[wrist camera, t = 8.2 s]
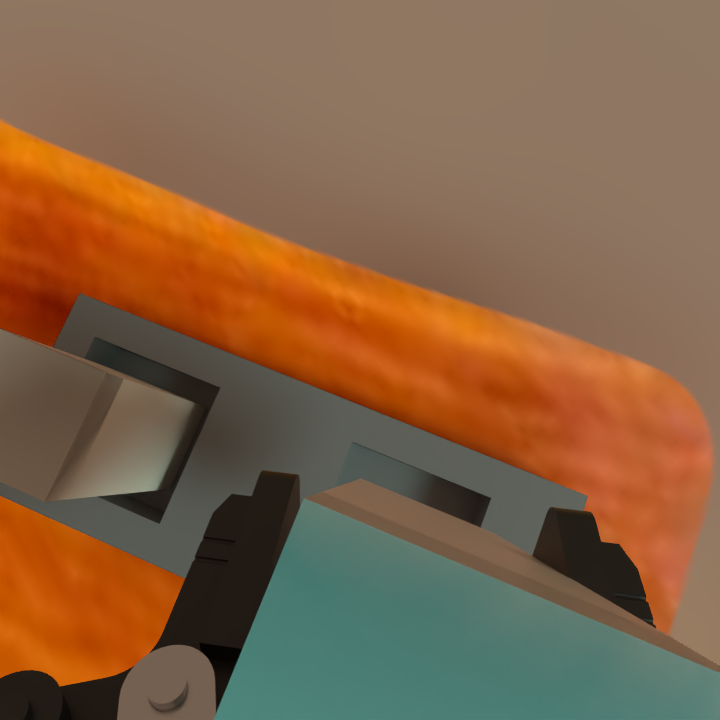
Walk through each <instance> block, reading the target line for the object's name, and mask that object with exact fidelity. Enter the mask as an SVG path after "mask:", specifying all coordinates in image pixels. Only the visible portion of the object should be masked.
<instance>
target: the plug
mask: <svg viewBox="0 0 720 720" xmlns="http://www.w3.org/2000/svg"><path fill="white" fill-rule="evenodd" d="M214 720H720V666H719V665H717V664H716V663H714V662H712V661H710V660H709V659H707V658H705V657H704V656H702V655H700V654H698V653H697V652H695V651H693V650H692V649H690V648H688V647H687V646H685V645H683V644H682V643H680V642H678V641H676V640H675V639H673V638H671V637H670V636H668V635H666V634H665V633H663V632H661V631H659V630H658V629H656V628H654V627H653V626H651V625H649V624H648V623H646V622H644V621H642V620H641V619H639V618H637V617H636V616H634V615H632V614H631V613H629V612H627V611H625V610H624V609H622V608H620V607H619V606H617V605H615V604H614V603H612V602H610V601H609V600H607V599H605V598H603V597H602V596H600V595H598V594H597V593H595V592H593V591H592V590H590V589H588V588H586V587H585V586H583V585H581V584H580V583H578V582H576V581H575V580H573V579H570V578H568V577H567V576H565V575H563V574H562V573H560V572H558V571H557V570H555V569H553V568H552V567H550V566H548V565H546V564H545V563H543V562H541V561H540V560H538V559H536V558H535V557H533V556H532V555H530V554H529V553H527V552H525V551H524V550H522V549H520V548H518V547H517V546H515V545H513V544H512V543H510V542H508V541H507V540H505V539H503V538H501V537H500V536H498V535H496V534H495V533H493V532H490V531H488V530H485V529H483V528H481V527H478V526H476V525H473V524H471V523H468V522H466V521H464V520H461V519H459V518H456V517H454V516H451V515H449V514H446V513H444V512H442V511H439V510H437V509H434V508H432V507H429V506H427V505H425V504H422V503H420V502H417V501H415V500H412V499H410V498H408V497H405V496H403V495H400V494H398V493H395V492H393V491H391V490H388V489H386V488H383V487H381V486H378V485H376V484H374V483H371V482H369V481H366V480H364V479H358V480H355V481H352V482H349V483H346V484H344V485H341V486H338V487H335V488H332V489H329V490H326V491H323V492H320V493H317V494H314V495H312V496H309V497H306V498H304V499H303V502H302V504H301V506H300V509H299V511H298V514H297V516H296V519H295V521H294V524H293V526H292V529H291V531H290V533H289V536H288V538H287V541H286V543H285V546H284V548H283V551H282V553H281V556H280V558H279V560H278V563H277V565H276V568H275V570H274V573H273V575H272V578H271V580H270V583H269V585H268V587H267V590H266V592H265V595H264V597H263V600H262V602H261V605H260V607H259V610H258V612H257V614H256V617H255V619H254V622H253V624H252V627H251V629H250V632H249V634H248V637H247V639H246V641H245V644H244V646H243V649H242V651H241V654H240V656H239V659H238V661H237V663H236V666H235V668H234V671H233V673H232V676H231V678H230V681H229V683H228V686H227V688H226V690H225V693H224V695H223V698H222V700H221V703H220V705H219V708H218V710H217V713H216V715H215V717H214Z"/></svg>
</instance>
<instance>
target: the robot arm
mask: <svg viewBox="0 0 720 720" xmlns="http://www.w3.org/2000/svg"><path fill="white" fill-rule="evenodd" d="M299 509H300V477H299V475H298V474H290V473H282V472H274V471H265V470H262V471H261V473H260V475H259V477H258V480H257V483H256V485H255V488H254V491H253V494H252V496H246V495H238V494H231V495H230V496H229V497H228V498H227V499H226V500H225V501H224V502H223V503H222V504H221V505H220V506H219V507H218V508H217V509H216V510H215V511H214V512H213V514H212V516H211V519H210V521H209V523H208V526H207V528H206V531H205V533H204V535H203V540H202V541H201V543H200V545H199V547H198V550H197V552H196V555H195V559H194V561H193V562H192V564H191V567H190V569H189V571H188V574H187V576H186V579H185V581H184V583H183V586H182V588H181V590H180V593H179V595H178V598H177V600H176V602H175V605H174V607H173V610H172V612H171V614H170V617H169V619H168V622H167V624H166V626H165V629H164V631H163V634H162V635H161V637H160V639H159V641H158V643H157V644H156V646H155V647H154V648H153V650H152V651H151V652H150V653H149V654H148V655H146V656H145V657H144V658H142V659H141V660H140V661H139V662H138V663H137V664H136V665H135V666H133V667H132V668H130V669H128V670H126V671H124V672H122V673H120V674H117V675H115V676H111V677H107V678H102V679H97V680H92V681H87V682H81V683H76V684H71V685H66V686H61V687H59V685H58V683H57V682H56V681H55V680H54V679H53V677H51V676H49V675H48V674H46V673H43V672H40V671H34V670H28V671H20V672H15V673H12V674H9V675H6V676H4V677H2V678H0V720H214V717H215V715H216V713H217V710H218V708H219V705H220V703H221V700H222V698H223V695H224V693H225V690H226V688H227V686H228V683H229V681H230V678H231V676H232V673H233V671H234V668H235V666H236V663H237V661H238V659H239V656H240V654H241V651H242V649H243V646H244V644H245V641H246V639H247V637H248V634H249V632H250V629H251V627H252V624H253V622H254V619H255V617H256V614H257V612H258V610H259V607H260V605H261V602H262V600H263V597H264V595H265V592H266V590H267V587H268V585H269V583H270V580H271V578H272V575H273V573H274V570H275V568H276V565H277V563H278V560H279V558H280V556H281V553H282V551H283V548H284V546H285V543H286V541H287V538H288V536H289V533H290V531H291V529H292V526H293V524H294V521H295V519H296V516H297V514H298V511H299ZM532 556H533V557H535V558H536V559H538V560H540V561H541V562H543V563H545V564H546V565H548V566H550V567H552V568H553V569H555V570H557V571H558V572H560V573H562V574H563V575H565V576H567V577H568V578H570V579H573V580H575V581H576V582H578V583H580V584H581V585H583V586H585V587H586V588H588V589H590V590H592V591H593V592H595V593H597V594H598V595H600V596H602V597H603V598H605V599H607V600H609V601H610V602H612V603H614V604H615V605H617V606H619V607H620V608H622V609H624V610H625V611H627V612H629V613H631V614H632V615H634V616H636V617H637V618H639V619H641V620H642V621H644V622H646V623H648V624H649V625H651V626H653V627H654V628H656V626H655V625H653V617H652V614H651V610H650V607H649V604H648V602H646V594H645V591H644V588H643V585H642V582H641V578H640V575H639V572H638V569H637V568H636V566H635V565H634V564H633V562H632V561H631V560H630V558H629V557H628V556H627V554H626V553H625V552H624V550H623V549H622V548H621V546H620V545H619V544H613V543H606V542H601V540H600V536H599V532H598V528H597V525H596V521H595V518H594V516H593V514H592V513H591V512H587V511H580V510H572V509H564V508H556V507H550V508H549V510H548V511H547V514H546V517H545V520H544V523H543V526H542V529H541V531H540V534H539V537H538V540H537V543H536V546H535V549H534V552H533V555H532Z"/></svg>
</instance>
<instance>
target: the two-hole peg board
mask: <svg viewBox="0 0 720 720" xmlns="http://www.w3.org/2000/svg"><path fill="white" fill-rule="evenodd" d="M262 470H265V471H274V472H282V473H290V474H298V475H299V477H300V506H301V504H302V502H303V499H304V498H306V497H309V496H312V495H314V494H317V493H320V492H323V491H326V490H329V489H332V488H335V487H338V486H341V485H344V484H346V483H349V482H352V481H355V480H358V479H364V480H366V481H369V482H371V483H374V484H376V485H378V486H381V487H383V488H386V489H388V490H391V491H393V492H395V493H398V494H400V495H403V496H405V497H408V498H410V499H412V500H415V501H417V502H420V503H422V504H425V505H427V506H429V507H432V508H434V509H437V510H439V511H442V512H444V513H446V514H449V515H451V516H454V517H456V518H459V519H461V520H464V521H466V522H468V523H471V524H473V525H476V526H478V527H481V528H483V529H485V530H488V531H490V532H493V533H495V534H496V535H498V536H500V537H501V538H503V539H505V540H507V541H508V542H510V543H512V544H513V545H515V546H517V547H518V548H520V549H522V550H524V551H525V552H527V553H529V554H530V555H533V552H534V549H535V546H536V543H537V540H538V537H539V534H540V531H541V529H542V526H543V523H544V520H545V517H546V514H547V511H548V510H549V508H550V507H556V508H564V509H572V510H580V511H583V509H584V506H585V503H586V500H587V497H588V496H586V495H584V494H581V493H579V492H576V491H574V490H571V489H569V488H566V487H564V486H561V485H559V484H556V483H554V482H551V481H549V480H546V479H544V478H541V477H539V476H536V475H534V474H531V473H529V472H526V471H524V470H521V469H519V468H516V467H514V466H511V465H509V464H506V463H504V462H501V461H499V460H496V459H494V458H491V457H489V456H486V455H484V454H481V453H479V452H476V451H474V450H471V449H469V448H466V447H464V446H461V445H459V444H456V443H454V442H451V441H449V440H446V439H444V438H441V437H439V436H436V435H434V434H431V433H429V432H426V431H424V430H421V429H419V428H416V427H414V426H411V425H409V424H406V423H404V422H401V421H399V420H396V419H394V418H391V417H389V416H386V415H384V414H381V413H379V412H376V411H374V410H371V409H369V408H366V407H364V406H361V405H359V404H356V403H354V402H351V401H349V400H346V399H344V398H341V397H339V396H336V395H334V394H331V393H329V392H326V391H324V390H321V389H319V388H316V387H314V386H311V385H309V384H306V383H304V382H301V381H299V380H296V379H293V378H291V377H288V376H286V375H283V374H281V373H278V372H276V371H273V370H271V369H268V368H266V367H263V366H261V365H258V364H256V363H253V362H251V361H248V360H246V359H243V358H241V357H238V356H236V355H233V354H231V353H228V352H226V351H223V350H221V349H218V348H216V347H213V346H211V345H208V344H206V343H203V342H201V341H198V340H196V339H193V338H191V337H188V336H186V335H183V334H181V333H178V332H176V331H173V330H171V329H168V328H166V327H163V326H161V325H158V324H156V323H153V322H151V321H148V320H146V319H143V318H141V317H138V316H136V315H133V314H131V313H128V312H126V311H123V310H121V309H118V308H116V307H113V306H111V305H108V304H106V303H103V302H101V301H98V300H96V299H93V298H91V297H88V296H86V295H83V294H81V293H80V294H79V296H78V298H77V300H76V302H75V304H74V306H73V308H72V310H71V312H70V314H69V316H68V318H67V320H66V322H65V324H64V326H63V328H62V330H61V332H60V334H59V336H58V338H57V340H56V342H55V344H54V346H53V347H50V346H48V345H45V344H42V343H39V342H37V341H34V340H31V339H28V338H26V337H23V336H20V335H17V334H14V333H12V332H9V331H6V330H3V329H1V328H0V496H2V497H4V498H6V499H9V500H11V501H13V502H15V503H18V504H20V505H22V506H24V507H27V508H29V509H31V510H33V511H36V512H38V513H40V514H42V515H44V516H47V517H49V518H51V519H53V520H56V521H58V522H60V523H62V524H65V525H67V526H69V527H71V528H74V529H76V530H78V531H80V532H82V533H85V534H87V535H89V536H91V537H94V538H96V539H98V540H100V541H103V542H105V543H107V544H109V545H111V546H114V547H116V548H118V549H120V550H123V551H125V552H127V553H129V554H132V555H134V556H136V557H138V558H141V559H143V560H145V561H147V562H149V563H152V564H154V565H156V566H158V567H161V568H163V569H165V570H167V571H170V572H172V573H174V574H176V575H178V576H181V577H183V578H185V579H186V576H187V574H188V571H189V569H190V567H191V564H192V562H193V561H194V559H195V555H196V552H197V550H198V547H199V545H200V543H201V541H202V540H203V535H204V533H205V531H206V528H207V526H208V523H209V521H210V519H211V516H212V514H213V512H214V511H215V510H216V509H217V508H218V507H219V506H220V505H221V504H222V503H223V502H224V501H225V500H226V499H227V498H228V497H229V496H230V495H231V494H238V495H246V496H252V494H253V491H254V488H255V485H256V483H257V480H258V477H259V475H260V473H261V471H262Z"/></svg>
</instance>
